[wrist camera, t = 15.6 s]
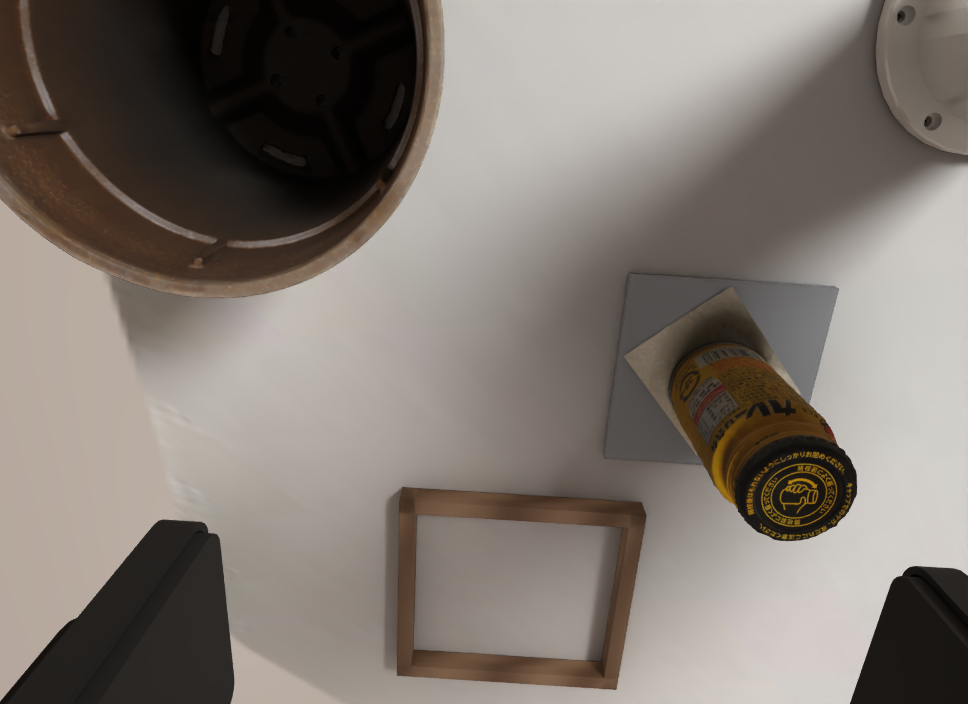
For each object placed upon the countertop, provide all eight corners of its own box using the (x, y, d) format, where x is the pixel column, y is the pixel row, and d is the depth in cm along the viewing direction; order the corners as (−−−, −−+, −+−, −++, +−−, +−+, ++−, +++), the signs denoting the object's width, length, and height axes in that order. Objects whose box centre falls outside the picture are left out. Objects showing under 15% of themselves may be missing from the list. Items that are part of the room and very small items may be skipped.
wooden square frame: (641, 502, 44) (646, 515, 42) (613, 672, 49) (616, 689, 48) (402, 487, 44) (399, 499, 42) (399, 659, 49) (396, 675, 48)
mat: (834, 286, 38) (838, 288, 38) (788, 465, 42) (792, 470, 42) (628, 273, 38) (630, 275, 38) (603, 453, 42) (604, 458, 42)
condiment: (695, 454, 42) (767, 583, 30) (622, 354, 39) (671, 454, 28) (799, 392, 40) (916, 504, 29) (730, 284, 38) (827, 360, 27)
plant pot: (500, -66, 32) (499, -213, 17) (435, 249, 38) (392, 345, 23) (171, -152, 31) (-133, -388, 16) (154, 184, 37) (-83, 238, 22)
